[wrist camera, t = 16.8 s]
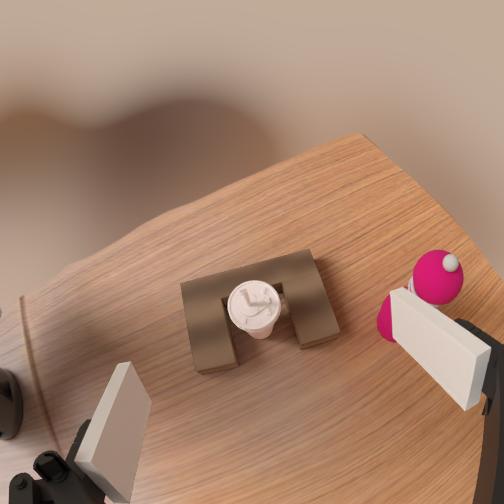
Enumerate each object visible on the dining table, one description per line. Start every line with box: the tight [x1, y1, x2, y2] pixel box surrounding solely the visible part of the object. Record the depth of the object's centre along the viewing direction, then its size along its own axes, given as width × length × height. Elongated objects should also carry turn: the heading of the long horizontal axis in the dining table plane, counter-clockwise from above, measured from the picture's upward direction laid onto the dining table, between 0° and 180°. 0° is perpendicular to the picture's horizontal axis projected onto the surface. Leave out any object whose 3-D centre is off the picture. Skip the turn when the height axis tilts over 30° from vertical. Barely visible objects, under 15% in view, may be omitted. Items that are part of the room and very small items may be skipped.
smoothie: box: [228, 280, 281, 339], centre depth 39 cm, size 6×6×14 cm
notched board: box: [180, 249, 341, 375], centre depth 44 cm, size 14×20×4 cm
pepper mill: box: [377, 250, 463, 342], centre depth 34 cm, size 7×7×20 cm
